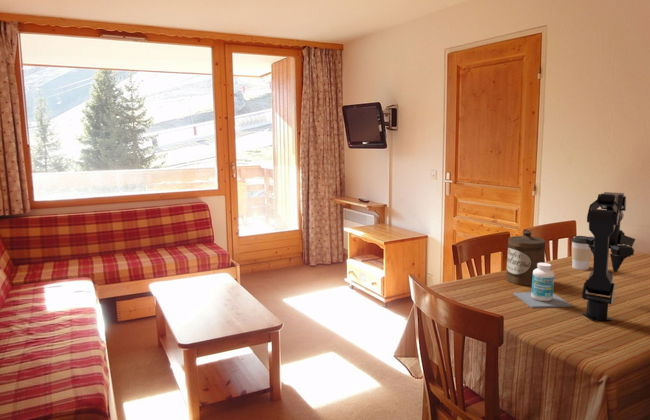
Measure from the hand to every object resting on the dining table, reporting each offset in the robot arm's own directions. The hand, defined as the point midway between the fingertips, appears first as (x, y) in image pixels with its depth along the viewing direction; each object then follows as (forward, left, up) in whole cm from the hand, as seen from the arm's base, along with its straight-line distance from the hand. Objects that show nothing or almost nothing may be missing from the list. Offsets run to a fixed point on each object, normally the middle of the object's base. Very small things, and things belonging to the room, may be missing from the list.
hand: (607, 268), depth 174 cm
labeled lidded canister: (+28, +17, -13) cm, 35 cm away
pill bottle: (+4, +22, -13) cm, 26 cm away
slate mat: (+4, +22, -13) cm, 26 cm away
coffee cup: (+45, -18, -13) cm, 50 cm away
